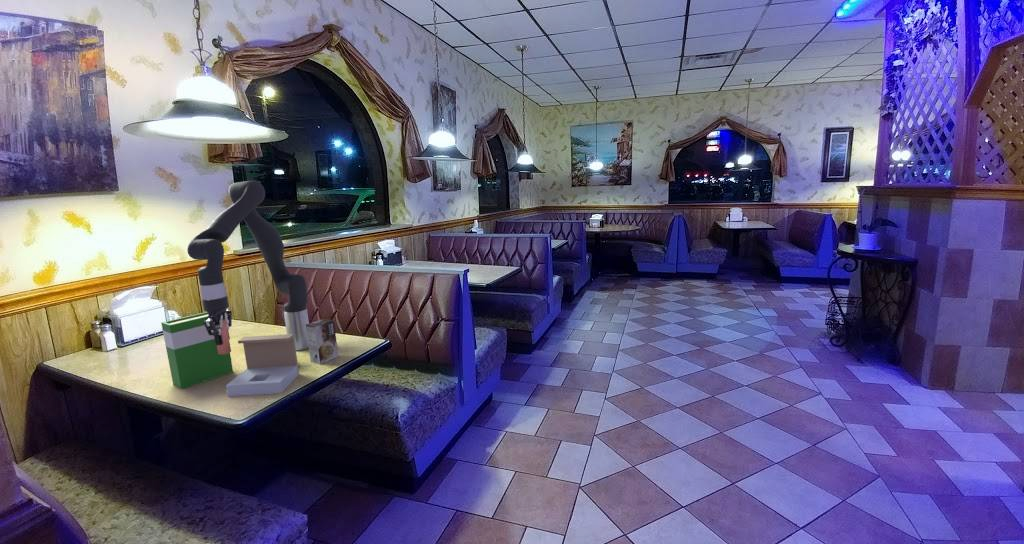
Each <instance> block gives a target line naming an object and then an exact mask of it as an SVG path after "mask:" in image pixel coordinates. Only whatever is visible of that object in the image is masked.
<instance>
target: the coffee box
mask: <svg viewBox="0 0 1024 544" xmlns="http://www.w3.org/2000/svg"><path fill="white" fill-rule="evenodd" d="M335 327H336V326H335V320H334V319H329V318H321V319H318V320H315V321H312V322H309V324H306V331H307V338H308V345H309V348H308V351H309V359H310V362H311V363H313V364H317V365H323V364H324V363H327V362H329V361H331V360H334V359H336V358H338V357H339V351H338V343H337V336H336V328H335Z"/></svg>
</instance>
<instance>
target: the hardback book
mask: <svg viewBox="0 0 1024 544" xmlns="http://www.w3.org/2000/svg"><path fill="white" fill-rule="evenodd" d="M208 315H209V313H208V312H207V311H204V312H201V313H196V314H192V315H188V316H184V317H179V318H174V319H171V320H166V321H162V322H160V323H161V329H162V335H163V340H164V344H165V345H164V346H165V350H166V355H167V359H168V366H169V369H170V374H171V375H170V376H171V378H172V379H171V380H172V385H173V386H175V387H176V388H178V389H180V390H183V389H186V388H190V387H191V386H195V385H199V384H201V383H204V382H207V381H211V380H213V379H216V378H219V377H222V376H225V375H228V374H231V373H233V372H234V369H233V362H232V356H231V352H230V353H227V354H223V355H219V354H218V350H217V345H216V344H215V339H214V336H213V335H209V334H208V332H207V329H206V327H205V325H204V321H207V320H208V319H209V318H208ZM211 332H212V330H211Z"/></svg>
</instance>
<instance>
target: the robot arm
mask: <svg viewBox="0 0 1024 544" xmlns="http://www.w3.org/2000/svg"><path fill="white" fill-rule="evenodd" d="M228 194H229V198H230V200H231V202H232V205H231V206H229V207H228V208H226V209H225V210H223V211H222V212H221V213H220V214H218V215H217V216H216V217H215V218H214V219H213V220H212V222H211V223H210V224H209V225H208V227H207V228H206V229H204V230H203V231H201V232H200V233H199V234H197V235H196V236H194V237H193V238H192V239H191V241H190V242H189V243H188V245H187V255H188V256H189V257H190V258H191V259H193V260H196V261H203V260H205V261H206V262H207V263H206V266H202V267H200V268H199V269H198V270H197V277H198V281H199V288H200V289H199V291H200V296H201V300H202V301H201V302H202V307H203V311H204V312H208V313H209V315H208V318H209V319H208V320H207V321H204V325H205V327H206V329H207V332H208V334H209V335H213V336H214V339H215V344H216V345H222V344H223V340H222V335H221V328H222V320H223V319H226V325H227V330H228V336H229V341H230V339H231V338H230V337H231V336H230V333H229V330H230V327H232V322H233V321H232V317H233V315H232V314H233V311H232V310H231V309H229V307H230V304H229V298H228V293H227V288H226V284H225V281H224V276H223V265H224V258H225V257H224V256H225V248H224V245H223V244H222V243H225V242H226V241H227V240H228V239H229V238H230V237H231V236H232V234H233V233H234V231H235V230H236V228H237V227H238V226H239V224H241V223H242V221H244V222H245V224H246V226H247V228H248V230H249V232H250V233H251V234H250V235H252V238H253V239H254V242H255V244H256V246H257V248H258V250H259V252H260V254H261V255H262V257H263V260H264V261H265V263H266V266H267V268H268V270H269V272H270V275H271V277H272V278H271V279H272V280H273V283H274V286H275V288H276V290H277V291H278V292H279V293H280V294H282V295H287V296H288V297H289V301H288V302H286V303H285V304H283V316H284V322H285V323H284V325H285V328H286V329H285V331H286V334H294V340H295V348H296V352H297V351H303V350H306V349H309V345H308V338H307V331H306V324H309V323H310V322H309V316H308V315H309V314H308V307H307V305H308V301H309V300H308V299H309V298H308V286H307V285H308V284H307V281H306V278H305V276H304V275H302V274H300V273H290V272H289V271H288V268H287V267H286V265H285V262H284V253H285V246H284V243H283V239H282V237H281V236H280V234H279V232H278V230H277V229H276V227H274V225H272V223H270V222H269V221H268V220H267V219H265V218H264V217H262V216H261V215H260V213H258V211H257V209H256V208H257V207H258V206H259V205H261V203H262V202H263V201H264V200H265V197H266V190H265V188H264V186H263V184H262V183H261V182H260V181H257V180H245V181H238V182H234V183H231V184H230V185H229V187H228ZM215 325H219V326H215ZM216 328H217V329H218V332H217V329H216ZM211 330H212V332H211Z"/></svg>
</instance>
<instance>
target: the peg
mask: <svg viewBox="0 0 1024 544" xmlns="http://www.w3.org/2000/svg"><path fill="white" fill-rule="evenodd" d="M215 326H219V325H215ZM216 329H217V328H216ZM228 331H229V330H227V325H226V319H223V320H222V328H221V335H222V340H223V344H222V345H217V350H218V354H219V355H223V354H227V353H230V354H231V352H232V348H231V343H230V342H231V341H230V340H229V337H230V335H229V336H228ZM217 332H218V329H217Z"/></svg>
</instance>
